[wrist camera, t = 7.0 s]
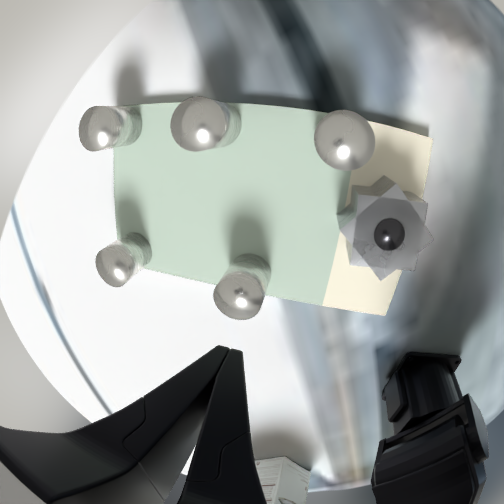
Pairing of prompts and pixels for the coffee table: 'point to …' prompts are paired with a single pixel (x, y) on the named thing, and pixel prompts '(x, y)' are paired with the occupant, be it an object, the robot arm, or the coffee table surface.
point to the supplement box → (283, 481)
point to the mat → (259, 202)
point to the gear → (384, 227)
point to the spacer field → (205, 138)
